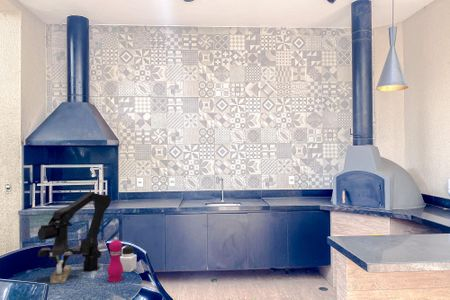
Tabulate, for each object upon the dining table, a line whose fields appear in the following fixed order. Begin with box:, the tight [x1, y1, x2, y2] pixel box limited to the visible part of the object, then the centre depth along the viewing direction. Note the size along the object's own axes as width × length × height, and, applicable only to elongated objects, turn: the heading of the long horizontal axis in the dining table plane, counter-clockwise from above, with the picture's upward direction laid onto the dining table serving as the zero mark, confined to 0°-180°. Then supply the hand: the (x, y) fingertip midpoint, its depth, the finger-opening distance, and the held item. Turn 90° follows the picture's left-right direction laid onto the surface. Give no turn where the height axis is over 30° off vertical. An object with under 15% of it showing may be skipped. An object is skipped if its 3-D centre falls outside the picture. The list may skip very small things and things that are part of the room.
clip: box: [56, 259, 64, 275], centre depth 164 cm, size 2×7×6 cm, turn 14°
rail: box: [50, 265, 72, 284], centre depth 167 cm, size 6×17×3 cm, turn 15°
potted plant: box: [120, 245, 138, 273], centre depth 179 cm, size 7×7×12 cm
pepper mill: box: [106, 236, 123, 283], centre depth 163 cm, size 7×7×20 cm
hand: (60, 269), depth 164 cm, fingers closed on clip, 2 cm apart
